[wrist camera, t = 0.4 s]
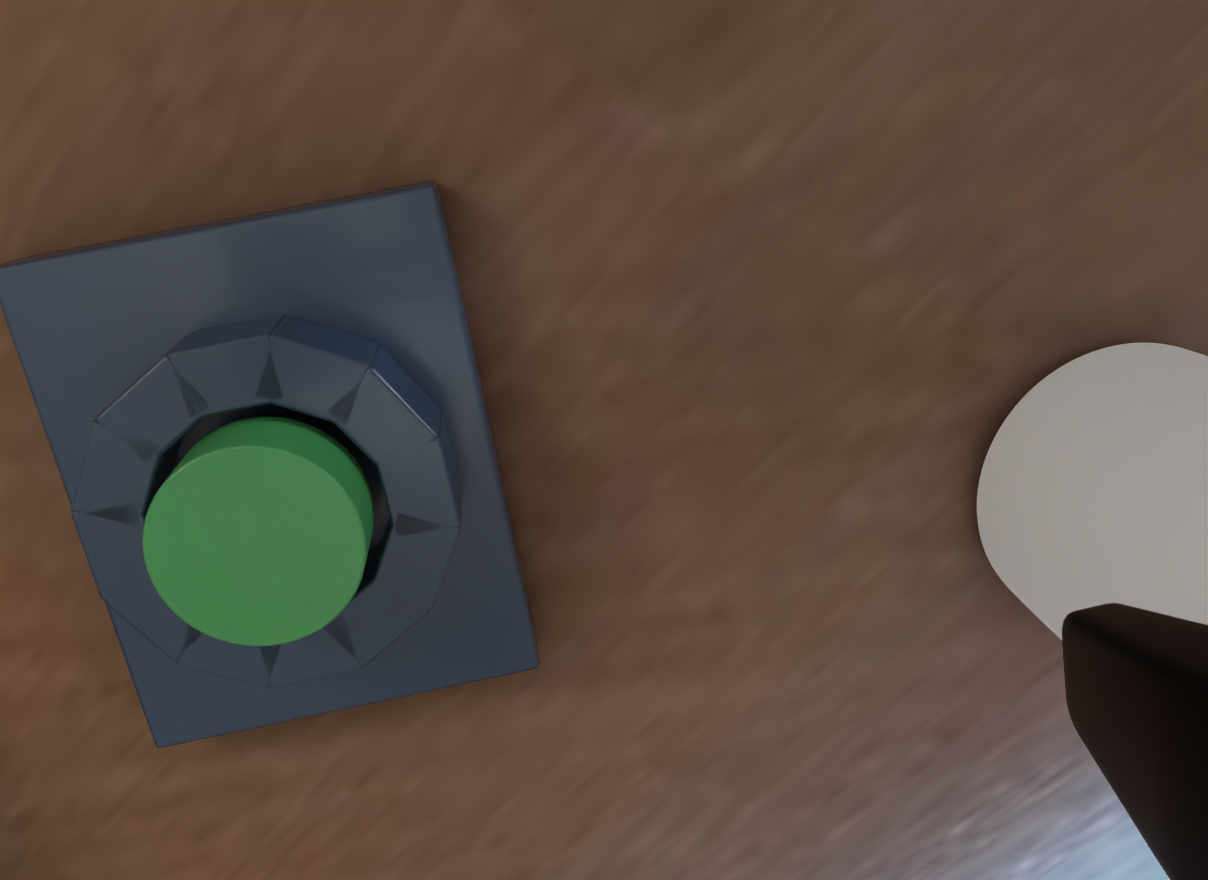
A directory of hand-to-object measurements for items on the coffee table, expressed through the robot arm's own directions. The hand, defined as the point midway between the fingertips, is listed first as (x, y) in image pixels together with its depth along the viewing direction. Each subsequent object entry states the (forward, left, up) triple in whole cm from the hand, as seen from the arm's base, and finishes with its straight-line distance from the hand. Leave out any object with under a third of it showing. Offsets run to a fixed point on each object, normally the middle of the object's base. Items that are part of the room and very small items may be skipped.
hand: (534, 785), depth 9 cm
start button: (-1, +4, -12) cm, 12 cm away
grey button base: (-1, +4, -14) cm, 15 cm away
